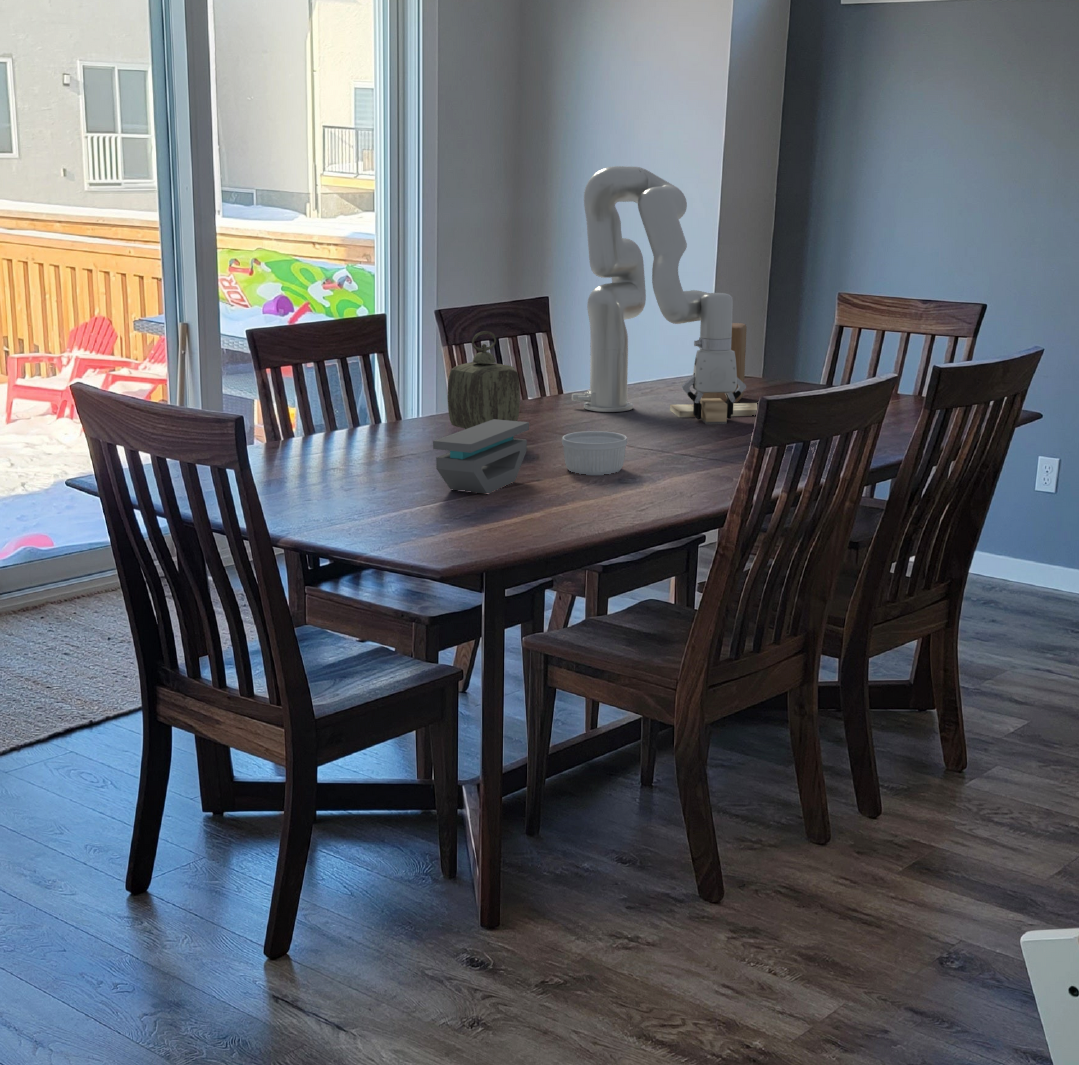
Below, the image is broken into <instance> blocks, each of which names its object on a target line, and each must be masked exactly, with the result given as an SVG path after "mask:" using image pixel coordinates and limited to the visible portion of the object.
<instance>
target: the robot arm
mask: <svg viewBox="0 0 1079 1065" xmlns="http://www.w3.org/2000/svg"><path fill="white" fill-rule="evenodd" d="M619 202H620V203H622V202H623V203H624V202H625V203H626V202H628V203H629V202H631V203H632V202H633V203H636V204H637V208H638V212H639V216H640V218H641V222H642V225H643V228H644V231H645V234H646V236H647V237H646V238H647V241H648V242H649V245H650V246H649V247H650V249H651V252H652V256H653V261H652V262H653V263H652V269H651V270H652V271H651V272H652V273H651V274H652V276H651V281H652V282H651V283H652V290H653V294H654V296H655V299H656V303H657V305H658V307H659V308H658V309H659V310H660V312H661V314H662V317H663V318H664V319H665V320H666V321H668V322H669V323H672V324H674V325H681V324H686V323H694V322H700V327H699V328H700V329H699V330H700V331H699V333H700V334H699V339H697V340H694V341H693V345H694V347H696V348H697V347H698V348H699V349H698V350H696V354H695V358H694V359H695V360H694V365H693V372H692V376H691V377H690V378H689V379H688V380H687V381H685V382H684V383H683V384H682V385H681V390H682V391H684V393H685V395H687V397H689V399H690V400H691V401H692V402H693V404H694V407H693V415H694V416H695V417H694V418H695V419H696V420H701V408H702V404H701V403H700V400H701V398H702V396H703V394H704V393H725V395H726V397H727V401H725V403H726V404H727V420H728V419H730V420H731V419H732V416H731V415H733V402H735V400H736V399H737V398H738V397H739V396H740V395H741V393H742V392H743V391H744V392H745V390H746V389H747V384H745V382H744V383H743V382H742V381H741V380H740V379H739V378H738V377H737V371H736V358H735V352H734V351H732V350H731V337H732V323H733V310H734V309H733V307H734V306H733V305H734V300H733V296H732V295H731V294H729V293H725V292H707V291H702V290H695V289H693V290H691V289H690V290H683V287H682V284H681V280H680V275H679V265H680V261H681V258H683V255H684V254H685V252H686V251H687V247H688V243H687V240H686V237H685V234H684V231H683V228H682V225H681V223H680V222H681V221H680V219H682V217H684V216H685V214H686V212H687V207H688V205H687V197H686V196H685V194H684V193H683V191H682V190H681V189H680V188H679V187H677V186H675V184H672V183H671V182H669V181H667V180H665V179H664V178H661V177H660V176H658V175H657V174H654V173H653V172H651V171H650V170H647V169H645V168H643V167H640V166H621V165H615V166H608V167H605V168H602V169H600V170H598V171H596V172H595V173H594V174H593V175H592V176H591V177H590V178H589V179H588V181H587V183H586V185H585V188H584V192H583V207H584V213H585V220H586V230H587V231H586V235H587V247H588V258H589V266H590V269H591V271H592V274H594V275H595V276H596V277H598V278H603V279H607V278H608V279H609V278H611V282H609V283H603V284H600V285H598V286H597V287H595V288H594V289H592V291H591V292H590V294H589V296H588V297H587V303H586V304H587V314H588V320H589V329H590V330H589V331H590V333H589V334H590V354H589V355H590V356H589V357H590V360H589V362H590V365H589V366H590V368H589V378H590V380H589V389H586V391H583V393H571V401H572V402H583V409H585V410H588V411H593V412H600V413H615V412H616V413H619V412H626V411H627V412H628V411H630V410H632V409H634V404H633V402H630V401H628V373H629V372H628V370H629V369H628V368H629V367H628V366H629V336H628V331H627V326H626V322H625V320H631V319H635V318H636V317H638V316H639V315H641V313H642V312H643V311H644V308H645V305H646V301H647V300H646V298H647V295H646V294H647V293H646V292H647V290H646V279H645V278H646V276H645V264H644V263H645V262H644V257H643V256H644V255H643V252H642V251H641V249H640V247H639V245H638V244H637V243H636V242H635V241H634V240H632V239H629V238H627V237H626V238H625V237H623V235H622V222H621V218H620V215H619V212H618V209H617V207H616V204H617V203H619ZM737 385H738V388H737V390H736V387H737ZM691 387H692V388H693V389H694V390H695V392H694V393H693V392H692V391H691V389H690V388H691ZM732 392H733V393H732Z"/></svg>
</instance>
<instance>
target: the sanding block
mask: <svg viewBox="0 0 1079 1065" xmlns="http://www.w3.org/2000/svg"><path fill="white" fill-rule="evenodd" d="M700 403H701V404H702V408H701V419H700V420H701V421H702V422H703V423H704V424H705V425H727V423H728V422H727V421H728V418H727V404H726V403H725V402H724V401H723V400H722V399H720V398H701V400H700Z"/></svg>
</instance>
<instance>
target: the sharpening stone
mask: <svg viewBox="0 0 1079 1065" xmlns="http://www.w3.org/2000/svg"><path fill="white" fill-rule="evenodd" d="M529 430H530V422H529V421H518V420H517V421H509V420H497V419H493V420H490V421H487V422H485V423H482V424H479V425H476V426H473V427H470V428H468V429H465V428H464V429H462V430H460V431H457V432H454V433H451V434H449V435H445V436H443V437H440V438H437V439H434V440H432V449H433V450H439V451H447V453H444V454H442V455H439V456H437V457H435V460H436V462H435V463H436V464H435V465H436V466H435V467H436V470H437V472H438V473H439V475H440V476H441V478H442V480H444V483H445V484H446V485H447V487H448V488H449V490H450V489H453V490H465V491H471V492H477V493H491V492H492V491H494V490H497V489H499V488H501V487H503V486H505V485H508V484H510V483H511V482H514V481H516V479H517V476H518V474H519V472H520V469H521V468H522V467H521V466H522V464H523V462H524V458H525V456H526V454H527V450H528V449H527V448H528V446H527V445H528V442H527V441H528V440H527V439H526V438H525V439H522V438H515V436H517V435H519V434H522V433H524V432H527V431H529ZM514 483H515V482H514ZM510 485H511V484H510ZM508 486H509V485H508ZM501 489H502V488H501ZM499 490H500V489H499ZM497 491H498V490H497ZM477 493H476V494H477ZM491 494H492V493H491Z"/></svg>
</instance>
